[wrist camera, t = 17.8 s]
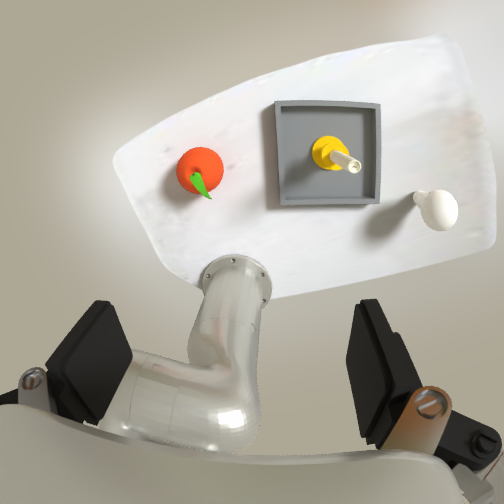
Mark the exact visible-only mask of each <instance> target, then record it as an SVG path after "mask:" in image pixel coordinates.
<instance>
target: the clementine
mask: <svg viewBox="0 0 504 504" xmlns="http://www.w3.org/2000/svg"><path fill="white" fill-rule="evenodd" d="M176 171H177V177H178V180H179V182H180V184H181V185H182V186H183V187H184V188H185V189H186V190H188V191H190V192H192V193H196V194H202V195H204V196H205V197H207V198H208V199H212V198H210V196H209V194H208V192H210V191H211V190H213V189H215V188H216V187H217V186H218V185H219V183H220V181H221V179H222V177H223V172H224V169H223V163H222V160H221V158H220V157H219V155H218V154H217V153H215V152H214V151H213V150H211V149H209V148H203V147H197V148H193V149H190V150H189V151H187V152H186V153H184V154H183V156H182V157H181V158H180V160H179V162H178V164H177V170H176Z"/></svg>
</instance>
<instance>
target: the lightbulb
mask: <svg viewBox="0 0 504 504" xmlns="http://www.w3.org/2000/svg"><path fill="white" fill-rule="evenodd" d="M413 201H414V202H415V203H416V204H417V205H418V207H419V208H420V209H421V215H422V218H423V220H424V222H425V223H426V225H427V226H428V227H430V228H431V229H433V230H436V231H444V230H447V229H449V228H450V227H452V226H453V224H454V223H455V221H456V219H457V216H458V207H457V203H456V201H455V199H454V198H453V196H452V195H451V194H450V193H448V192H447V191H444V190H438V189H437V190H433V191H431V192H424V191H421V190H418V191H416V192H415V193H414V195H413Z"/></svg>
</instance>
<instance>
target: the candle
mask: <svg viewBox="0 0 504 504" xmlns="http://www.w3.org/2000/svg"><path fill="white" fill-rule="evenodd" d="M312 157H313V160H314V161H315V163H316V164H317V165H318V166H320V167H321V168H323V169H328V170H341V169H345V170H347V171H349V172H351V173H357V172H359V171H360V169H361V163H360V162H359V161H357V160H356V159H354V158H352V157H350V156H349V152H348V149H347V148H346V147H345V146H344V145H343V143H342V142H341V141H340V140H339V139H337V138H335V137H333V136H323V137H321V138H319V139H318V140H316V142H315V143H314V144H313V147H312Z"/></svg>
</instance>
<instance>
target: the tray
mask: <svg viewBox="0 0 504 504" xmlns="http://www.w3.org/2000/svg"><path fill="white" fill-rule="evenodd" d="M275 117H276V132H277V149H278V168H279V188H280V205H314V204H379V202H380V183H381V111H380V104H375V103H364V102H349V101H322V100H291V101H275ZM323 136H333V137H335V138H337V139H339V140H340V141H341V142H342V143H343V145H344V146H345V147H346V148H347V149H348V152H349V156H350V157H352V158H354V159H356V160H357V161H359V162H360V163H361V169H360V171H359V172H357V173H351V172H349V171H347V170H345V169H341V170H328V169H323V168H321V167H320V166H318V165H317V164H316V163H315V161H314V160H313V157H312V147H313V144H314V143H315V142H316V140H318V139H319V138H321V137H323Z"/></svg>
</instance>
